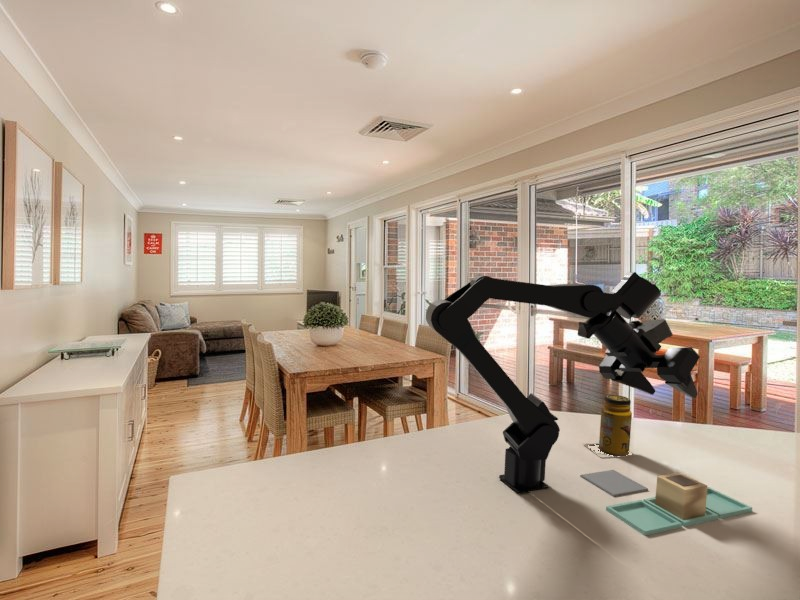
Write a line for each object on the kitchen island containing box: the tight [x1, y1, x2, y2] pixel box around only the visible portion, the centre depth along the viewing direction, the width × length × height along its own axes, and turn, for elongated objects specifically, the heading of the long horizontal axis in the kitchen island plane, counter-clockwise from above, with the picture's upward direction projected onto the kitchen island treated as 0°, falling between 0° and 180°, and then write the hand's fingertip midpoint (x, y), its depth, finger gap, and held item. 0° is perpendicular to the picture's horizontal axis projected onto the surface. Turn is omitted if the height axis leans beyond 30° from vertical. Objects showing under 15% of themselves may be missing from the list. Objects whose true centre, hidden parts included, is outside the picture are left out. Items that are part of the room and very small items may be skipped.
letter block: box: [655, 472, 709, 520], centre depth 76 cm, size 5×5×5 cm
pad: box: [579, 469, 649, 498], centre depth 85 cm, size 8×8×1 cm
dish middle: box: [642, 496, 719, 528], centre depth 76 cm, size 8×8×1 cm
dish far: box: [706, 486, 753, 519], centre depth 79 cm, size 8×8×1 cm
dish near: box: [605, 499, 683, 536], centre depth 73 cm, size 8×8×1 cm
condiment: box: [583, 394, 636, 458], centre depth 101 cm, size 7×8×12 cm
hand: (673, 394), depth 86 cm, fingers open, 9 cm apart
